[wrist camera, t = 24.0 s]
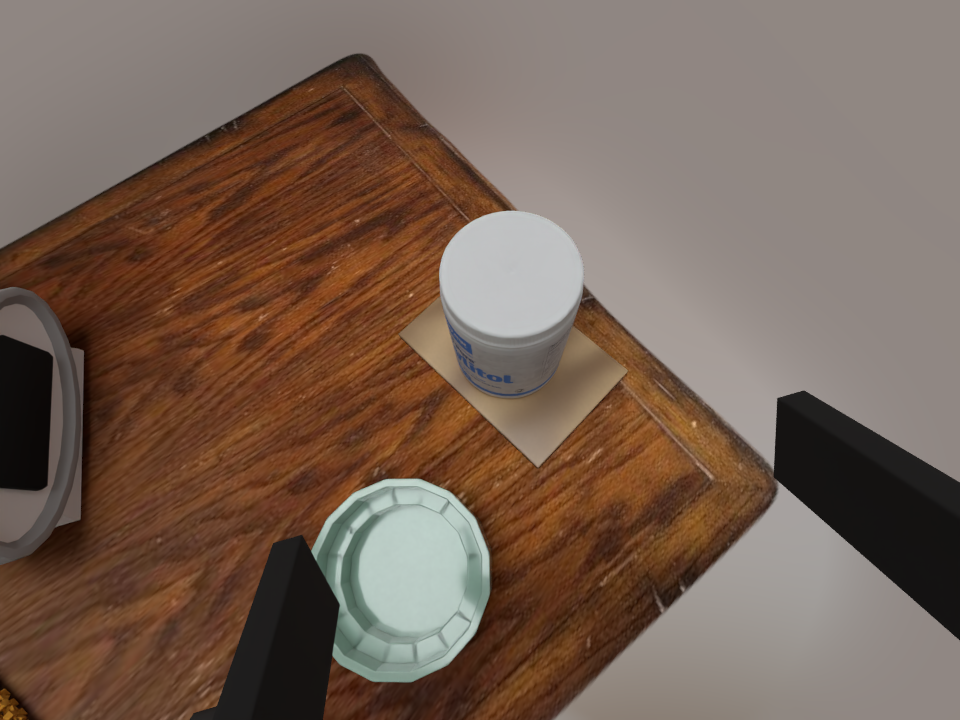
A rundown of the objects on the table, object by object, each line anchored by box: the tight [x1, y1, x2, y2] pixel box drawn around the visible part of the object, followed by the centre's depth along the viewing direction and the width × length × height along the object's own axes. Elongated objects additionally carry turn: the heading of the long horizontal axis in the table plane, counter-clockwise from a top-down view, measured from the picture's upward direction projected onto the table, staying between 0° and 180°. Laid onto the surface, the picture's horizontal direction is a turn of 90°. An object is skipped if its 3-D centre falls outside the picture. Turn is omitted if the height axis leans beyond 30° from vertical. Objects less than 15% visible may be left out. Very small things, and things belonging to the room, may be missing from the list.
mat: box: [399, 296, 628, 468], centre depth 43 cm, size 18×12×1 cm, turn 45°
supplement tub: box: [439, 211, 584, 398], centre depth 36 cm, size 10×10×15 cm
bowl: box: [311, 479, 492, 682], centre depth 36 cm, size 13×13×5 cm
